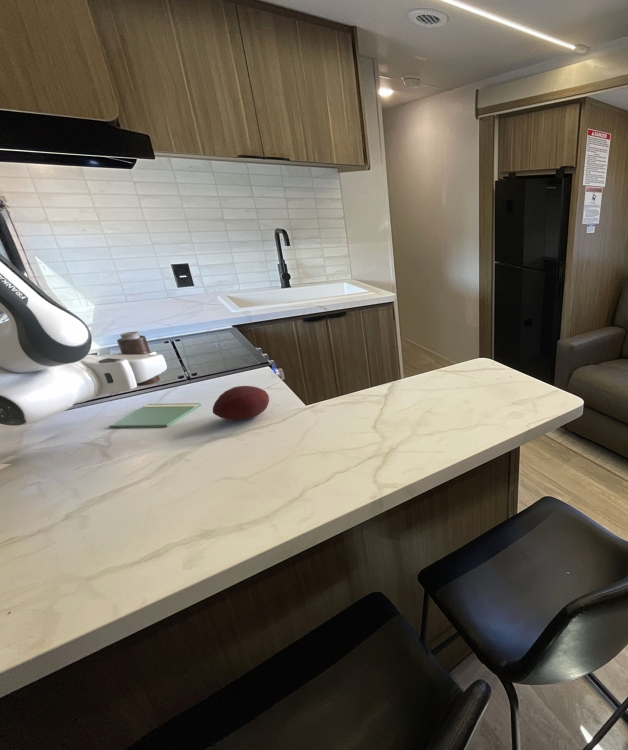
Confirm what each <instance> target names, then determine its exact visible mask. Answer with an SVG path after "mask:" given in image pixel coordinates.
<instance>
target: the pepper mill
mask: <svg viewBox="0 0 628 750" xmlns="http://www.w3.org/2000/svg"><path fill="white" fill-rule="evenodd" d="M116 341H117V342H116V343H117V346H118V348H119V351H120V353H122V355H144V353H147V352H151V349H150V347H149V344H148V341H147V338H146V336H145V335H140V333H139V331H127V332H123V333H120V338H118V339H117V340H116ZM160 380H161V378H160V374H159V375H157V376H155V377H153V378H151V379H149V380H147V381H144V382H141V383H136V384H137V387H144V386H149V385H152V384H155V383H158V382H159V381H160Z"/></svg>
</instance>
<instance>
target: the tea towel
mask: <svg viewBox="0 0 628 750" xmlns="http://www.w3.org/2000/svg"><path fill="white" fill-rule="evenodd" d="M201 405H202V404H201V402H195V403H194V402H192V403H191V402H190V403H188V402H187V403H147V404H145V405H143V406H141V407H139V409H137V410H135V411H133V412H131V413H129V414H126V415H125V416H124V417H122V418H119V419H118V420H116V421H114V422H112V423H111V424H109V425H108V427H109V428H113V429H114V428H168V427H169V426H171V425H172V424H174V423H175V422H176V423H177V421H178V420H180V419H182V418H184V417H185V416H186V415H188V414H190V413H192V412H193V411H194V410H196V409H197V408H199V407H200V406H201Z"/></svg>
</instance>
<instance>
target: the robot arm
mask: <svg viewBox="0 0 628 750" xmlns="http://www.w3.org/2000/svg"><path fill="white" fill-rule="evenodd" d="M0 310H1V311H2V312H3V313H4V315H6V317H7V318H8V319H6V320H3V321H0V425H3V426H11V427H18V426H27V425H31V424H34V423H37V422H40V421H43V420H46V419H48V418H51V417H53V416H56V415H58V414H61V413H63V412H65V411H68V410H69V409H70V408H71V407H73V406H74V405H76V404H81V403H85V402H87V401H89V400H91V399H94V398H98V397H101V396H105V395H108V394H114V393H120V392H126V391H127V392H128V391H131V390H134V389H136V388H137V387H138V386H137V384H136V383H141V382H144V381H147V380H149V379H151V378H153V377H155V376H157V375H159V376H160V375H161V374H162V373H164V372H165V371H167V369H168V365H167V362H166V359H165V357H164V355H163V354H160V353H157V352H156V351H150V352H147V353H144V355H122V353H121V352H118V353H112V354H89V353H90V351H91V348H92V342H93V338H92V332H91V331H90V328H89V326H88V325H87V324H86V322H84V320H82V318H80V317H79V316H78V315H76V314H75V313H73V312H72V311H70V310H69V309H67V307H64V306H63V305H61V304H59V303H58V302H57V301H56V300H54V299H53V298H52V297H51V296H49V295H48V294H47V293H45V291H43V290H42V289H41V288H40V287H39V286H38V285H36V284H35V282H33V281H32V280H31V279H30V278H29V277H28V276H27V275H26V274H24V273H23V272H22V271H21V270H20V269H19V268H18V267H17V266H15V265H14V264H13V263H12V262H11V261H9V259H7V257H5V256H4V255H3V254H2V253H0Z"/></svg>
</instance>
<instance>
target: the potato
mask: <svg viewBox="0 0 628 750" xmlns="http://www.w3.org/2000/svg"><path fill="white" fill-rule="evenodd" d="M269 403H270V396H269V394H268V392H267V391H266V390H264V389H262V388H259V387H257V386H253V385H239V386H233V387H231V388H229V389H227V390H225V391H223V393H221V394H220V395H219V396H218V398H217V399H216V401H215V402H214V403H213V406H212V414H213V415H215V416H217V417H219V418H220V419H225V420H227V421H245V420H249V419H252V418H255V417H257V416H259V415H261V414H262V413H263V412H265V410H266V409H267V408H268V406H269Z"/></svg>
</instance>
